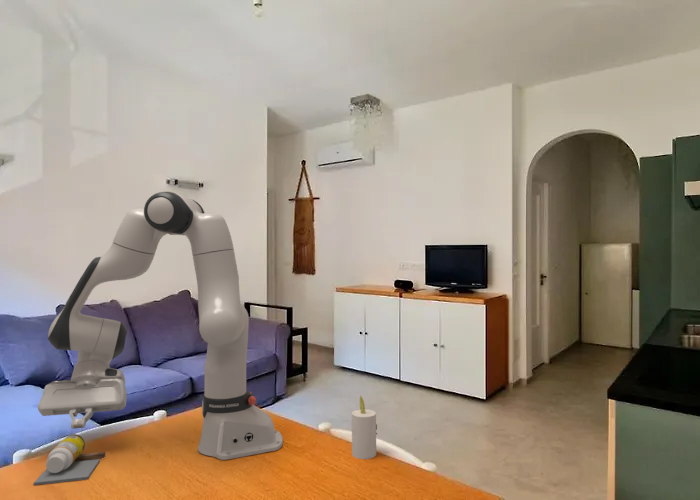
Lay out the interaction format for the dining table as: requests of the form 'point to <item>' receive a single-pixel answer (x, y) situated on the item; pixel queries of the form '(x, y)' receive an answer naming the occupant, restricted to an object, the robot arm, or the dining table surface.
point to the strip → (90, 456)
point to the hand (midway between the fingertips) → (77, 427)
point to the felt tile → (69, 473)
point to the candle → (364, 432)
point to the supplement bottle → (65, 453)
